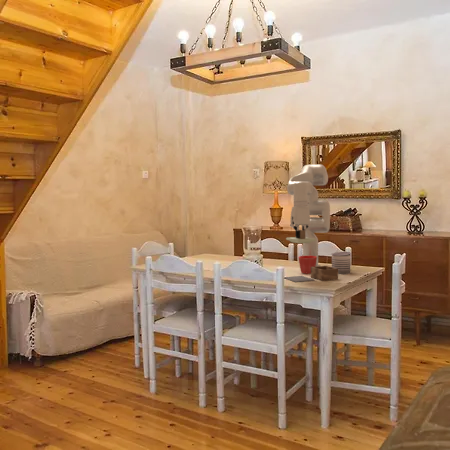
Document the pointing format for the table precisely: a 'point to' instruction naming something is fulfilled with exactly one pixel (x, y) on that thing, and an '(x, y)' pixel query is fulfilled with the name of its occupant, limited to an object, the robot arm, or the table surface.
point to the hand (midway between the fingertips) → (300, 237)
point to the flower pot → (307, 263)
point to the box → (324, 273)
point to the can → (341, 262)
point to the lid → (301, 238)
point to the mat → (299, 279)
